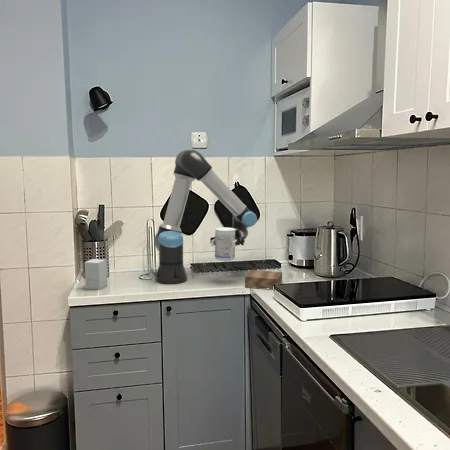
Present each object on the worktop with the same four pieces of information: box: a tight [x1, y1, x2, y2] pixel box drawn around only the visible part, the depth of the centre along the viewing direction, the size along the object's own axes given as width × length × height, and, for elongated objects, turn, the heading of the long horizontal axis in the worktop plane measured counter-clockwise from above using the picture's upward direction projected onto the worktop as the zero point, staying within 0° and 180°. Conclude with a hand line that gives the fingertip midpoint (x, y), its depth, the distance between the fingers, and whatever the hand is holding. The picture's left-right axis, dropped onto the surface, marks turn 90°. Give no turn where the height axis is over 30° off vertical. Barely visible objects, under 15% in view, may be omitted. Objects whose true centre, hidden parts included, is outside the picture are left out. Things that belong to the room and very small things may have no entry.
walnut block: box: [244, 269, 283, 290], centre depth 221 cm, size 15×14×5 cm
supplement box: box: [84, 258, 108, 291], centre depth 214 cm, size 7×7×13 cm
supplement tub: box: [214, 226, 236, 262], centre depth 223 cm, size 10×10×15 cm
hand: (222, 244), depth 218 cm, fingers closed on supplement tub, 9 cm apart
